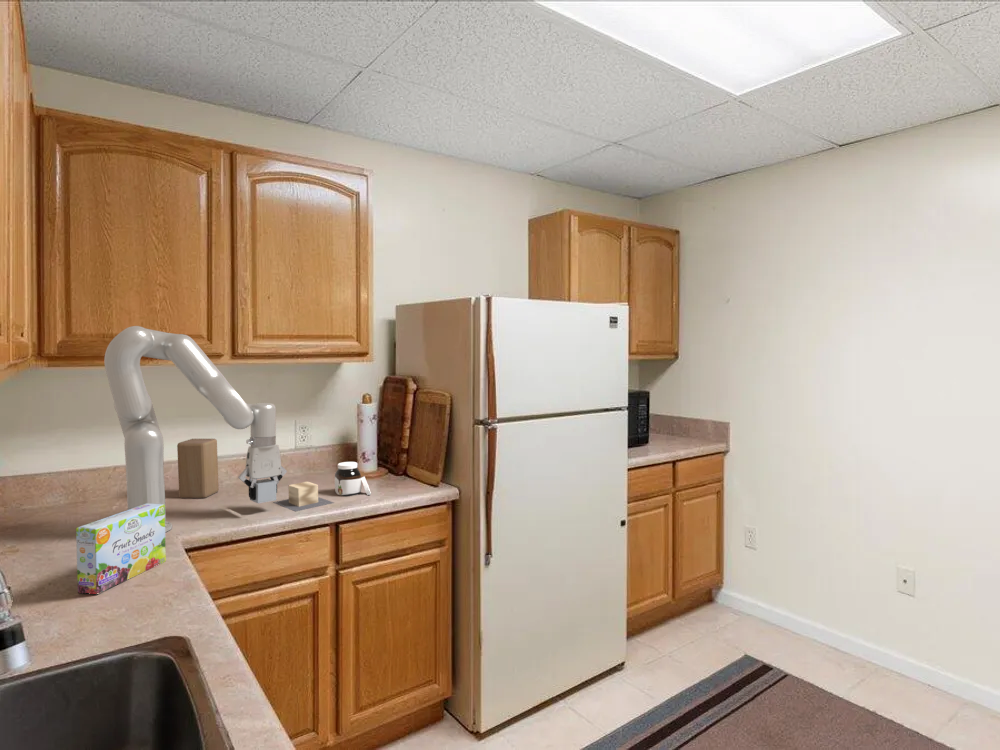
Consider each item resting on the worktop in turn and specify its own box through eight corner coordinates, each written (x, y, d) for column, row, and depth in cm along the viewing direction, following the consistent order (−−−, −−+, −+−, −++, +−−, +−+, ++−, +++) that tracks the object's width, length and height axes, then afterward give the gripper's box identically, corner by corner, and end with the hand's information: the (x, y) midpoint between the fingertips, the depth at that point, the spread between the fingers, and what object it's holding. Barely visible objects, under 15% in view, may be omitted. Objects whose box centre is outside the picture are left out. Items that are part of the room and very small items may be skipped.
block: (193, 491, 224) (191, 438, 223) (219, 491, 223) (218, 438, 222) (178, 498, 214) (175, 442, 213) (205, 498, 213) (203, 442, 212)
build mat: (295, 514, 193) (295, 511, 193) (272, 505, 204) (272, 502, 204) (334, 505, 203) (334, 502, 203) (310, 497, 214) (310, 494, 214)
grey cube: (257, 503, 190) (258, 484, 189) (249, 499, 194) (249, 481, 193) (276, 500, 194) (276, 481, 194) (267, 496, 198) (268, 478, 198)
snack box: (98, 596, 132) (95, 528, 131) (76, 594, 133) (73, 527, 132) (168, 561, 153) (165, 502, 152) (148, 560, 154) (146, 501, 153)
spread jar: (332, 495, 218) (331, 463, 217) (360, 489, 225) (359, 458, 224) (347, 501, 208) (346, 468, 208) (376, 495, 216) (375, 463, 215)
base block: (298, 506, 199) (298, 488, 198) (288, 502, 204) (288, 485, 203) (318, 502, 204) (317, 484, 203) (308, 498, 209) (307, 481, 208)
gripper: (241, 445, 184) (241, 504, 185) (294, 440, 197) (293, 495, 197) (231, 442, 189) (231, 499, 190) (283, 437, 202) (283, 491, 203)
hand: (263, 496), depth 194 cm, fingers closed on grey cube, 6 cm apart
